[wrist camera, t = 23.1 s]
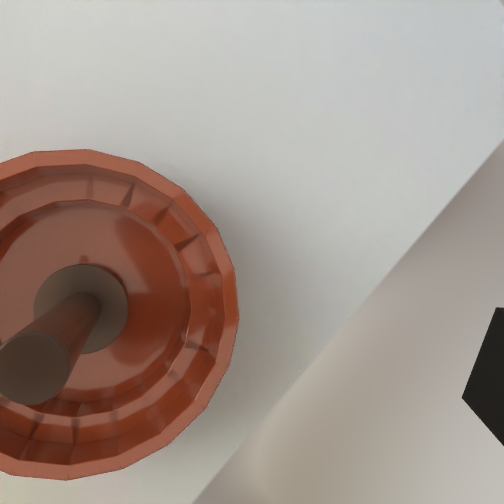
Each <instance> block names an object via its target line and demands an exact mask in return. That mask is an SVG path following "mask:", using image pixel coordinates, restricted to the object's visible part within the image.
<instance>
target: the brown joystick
mask: <svg viewBox="0 0 504 504" xmlns="http://www.w3.org/2000/svg"><path fill="white" fill-rule="evenodd" d="M128 303H129V301H128V294H127V291H126V288H125V286H124V284H123V282H122V281H121V279H120V278H119V277H118V276H117V275H116V274H115V273H114V272H112V271H111V270H109V269H108V268H106V267H103V266H101V265H97V264H91V263H83V264H76V265H72V266H68V267H65V268H62V269H60V270H58V271H56V272H55V273H53V274H52V275H51V276H49V277H48V278H47V279H46V280H45V281H44V283H43V284H42V285H41V287H40V288H39V290H38V292H37V294H36V297H35V300H34V306H33V315H34V321H33V322H32V323H30V324H29V325H28V326H26V327H25V328H23V329H22V330H21V331H19V332H18V333H16V334H15V335H14V336H12V337H11V338H9V339H8V340H6V341H5V342H4V343H3V344H2V345H1V346H0V393H1V394H2V395H3V396H4V397H5V398H7V399H8V400H10V401H13V402H15V403H18V404H24V405H34V404H39V403H42V402H45V401H47V400H49V399H51V398H53V397H54V396H55V395H57V394H58V393H59V392H60V391H61V390H62V388H63V387H64V386H65V384H66V382H67V380H68V378H69V376H70V374H71V372H72V370H73V368H74V366H75V364H76V362H77V360H78V358H79V356H80V354H89V353H93V352H96V351H99V350H101V349H103V348H105V347H107V346H108V345H109V344H111V343H112V342H113V341H114V340H115V339H116V338H117V337H118V336H119V334H120V333H121V331H122V330H123V328H124V326H125V324H126V320H127V317H128Z"/></svg>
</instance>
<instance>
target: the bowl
mask: <svg viewBox="0 0 504 504" xmlns="http://www.w3.org/2000/svg"><path fill="white" fill-rule="evenodd" d="M83 263H91V264H97V265H101V266H103V267H106V268H108V269H109V270H111V271H112V272H114V273H115V274H116V275H117V276H118V277H119V278H120V279H121V281H122V282H123V284H124V286H125V288H126V291H127V294H128V301H129V303H128V317H127V320H126V324H125V326H124V328H123V330H122V331H121V333H120V334H119V336H118V337H117V338H116V339H115V340H114V341H113V342H112V343H111V344H109V345H108V346H107V347H105V348H103V349H101V350H99V351H96V352H93V353H89V354H80V356H79V358H78V360H77V362H76V364H75V366H74V368H73V370H72V372H71V374H70V376H69V378H68V380H67V382H66V384H65V386H64V387H63V388H62V390H61V391H60V392H59V393H58V394H57V395H55V396H54V397H53V398H51V399H49V400H47V401H45V402H42V403H39V404H34V405H24V404H18V403H15V402H13V401H10V400H8V399H7V398H5V397H4V396H3V395H2V394H1V393H0V470H1V471H3V472H5V473H8V474H10V475H13V476H23V477H34V478H45V479H55V480H66V481H67V480H72V479H77V478H82V477H87V476H92V475H97V474H102V473H107V472H112V471H116V470H120V469H124V468H126V467H128V466H129V465H131V464H133V463H135V462H137V461H139V460H141V459H143V458H145V457H146V456H148V455H150V454H152V453H154V452H156V451H158V450H160V449H161V448H163V447H165V446H167V445H168V444H170V443H171V442H172V441H173V440H174V439H175V438H176V437H177V436H178V435H179V434H180V433H181V432H182V431H183V430H184V429H185V428H186V427H187V426H188V425H189V424H190V423H191V422H192V421H193V420H194V419H195V418H196V417H197V416H198V415H199V414H200V413H201V412H202V411H203V410H204V409H205V408H206V407H207V405H208V403H209V401H210V399H211V397H212V396H213V394H214V392H215V390H216V388H217V387H218V385H219V383H220V381H221V379H222V378H223V376H224V374H225V372H226V370H227V369H228V367H229V365H230V361H231V356H232V351H233V347H234V342H235V337H236V332H237V327H238V323H239V318H238V317H239V309H238V299H237V289H236V279H235V271H234V267H233V265H232V263H231V260H230V258H229V256H228V253H227V251H226V249H225V246H224V244H223V242H222V239H221V237H220V235H219V232H218V230H217V228H216V227H215V225H214V224H213V223H212V221H211V220H210V219H209V218H208V217H207V216H206V215H205V213H204V212H203V211H202V210H201V209H200V208H199V207H198V205H197V204H196V203H195V202H194V201H193V200H192V198H191V197H190V196H189V195H188V194H187V193H186V192H185V190H183V188H181V187H179V186H178V185H176V184H174V183H173V182H171V181H169V180H168V179H166V178H165V177H163V176H161V175H160V174H158V173H156V172H155V171H153V170H152V169H150V168H148V167H147V166H145V165H143V164H142V163H139V162H137V161H133V160H129V159H125V158H121V157H117V156H113V155H109V154H106V153H102V152H98V151H94V150H90V149H88V150H87V149H80V150H58V151H35V152H30V153H27V154H25V155H22V156H19V157H16V158H13V159H11V160H8V161H5V162H2V163H0V346H1V345H2V344H3V343H4V342H5V341H6V340H8V339H9V338H11V337H12V336H14V335H15V334H16V333H18V332H19V331H21V330H22V329H23V328H25V327H26V326H28V325H29V324H30V323H32V322H33V321H34V315H33V306H34V300H35V297H36V294H37V292H38V290H39V288H40V287H41V285H42V284H43V283H44V281H45V280H46V279H47V278H48V277H49V276H51V275H52V274H53V273H55V272H56V271H58V270H60V269H62V268H65V267H68V266H72V265H76V264H83Z"/></svg>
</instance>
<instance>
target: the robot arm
mask: <svg viewBox="0 0 504 504" xmlns="http://www.w3.org/2000/svg"><path fill="white" fill-rule="evenodd" d="M462 399H463V400H464V401H465V402H466V403H467V404H468V405H469V407H470V408H471V409H472V410H473V411H474V412H475V414H476V415H477V416H478V417H479V418H480V419H481V420H482V422H483V423H484V424H485V425H486V426H487V427H488V428H489V430H490V431H491V432H492V433H493V434H494V435H495V437H496V438H497V439H498V440H499V441H500V442H501V443H502V445H503V446H504V308H499V307H497V308H496V309H495V312H494V314H493V317H492V320H491V322H490V325H489V328H488V330H487V333H486V336H485V338H484V341H483V343H482V346H481V349H480V351H479V354H478V356H477V359H476V362H475V364H474V367H473V369H472V372H471V375H470V377H469V380H468V382H467V385H466V388H465V390H464V393H463V395H462Z"/></svg>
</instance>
